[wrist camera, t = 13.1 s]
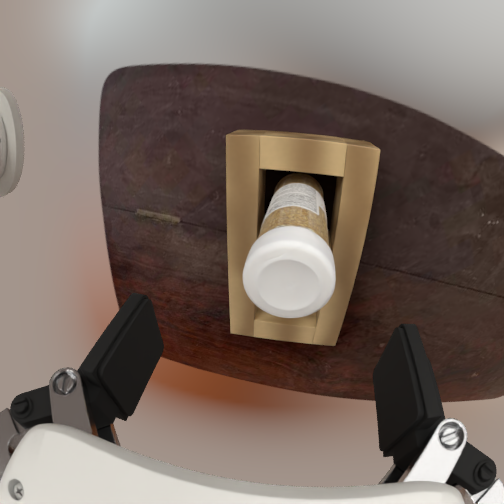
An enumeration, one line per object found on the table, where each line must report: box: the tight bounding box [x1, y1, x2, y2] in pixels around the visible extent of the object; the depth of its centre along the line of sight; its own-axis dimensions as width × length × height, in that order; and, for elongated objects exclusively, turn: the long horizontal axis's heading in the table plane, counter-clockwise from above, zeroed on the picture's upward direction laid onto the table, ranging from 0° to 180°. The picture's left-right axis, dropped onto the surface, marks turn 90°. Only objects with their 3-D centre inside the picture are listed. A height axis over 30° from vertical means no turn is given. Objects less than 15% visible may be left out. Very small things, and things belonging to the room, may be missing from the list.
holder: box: [226, 130, 380, 346], centre depth 25 cm, size 11×20×4 cm, turn 179°
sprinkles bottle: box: [243, 173, 336, 318], centre depth 19 cm, size 5×5×13 cm
